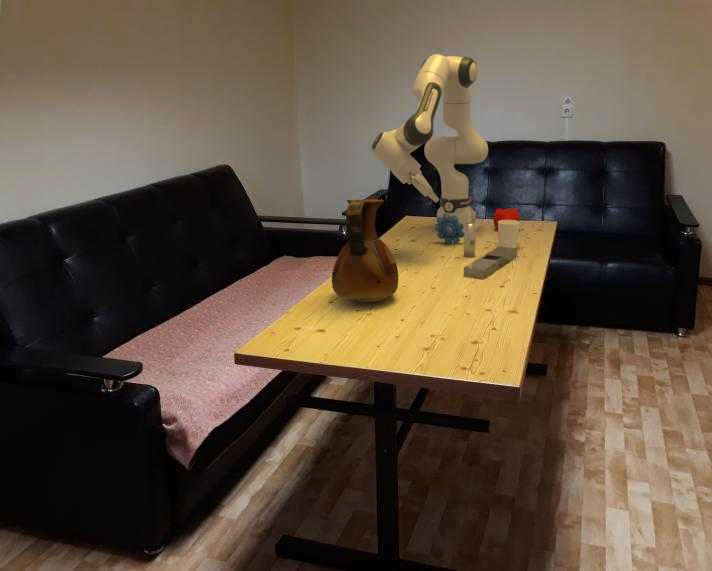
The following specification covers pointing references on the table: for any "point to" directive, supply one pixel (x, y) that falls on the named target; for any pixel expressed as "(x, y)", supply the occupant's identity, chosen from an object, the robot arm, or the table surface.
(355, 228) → the ceramic pitcher
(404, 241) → the table surface
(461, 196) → the robot arm
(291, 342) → the table surface
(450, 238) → the grapes
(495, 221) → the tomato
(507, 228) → the white cup
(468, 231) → the pin
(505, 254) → the grey slab
